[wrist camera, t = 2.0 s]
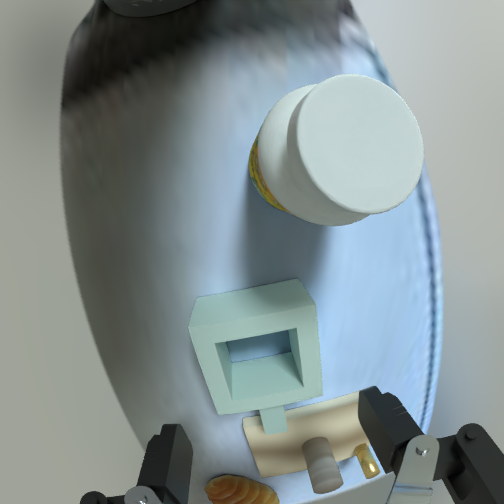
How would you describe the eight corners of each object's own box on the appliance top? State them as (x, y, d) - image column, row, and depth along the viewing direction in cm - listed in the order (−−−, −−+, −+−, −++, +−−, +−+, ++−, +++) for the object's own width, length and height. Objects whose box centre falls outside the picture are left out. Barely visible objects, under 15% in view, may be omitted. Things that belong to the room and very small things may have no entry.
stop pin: (354, 446, 21) (366, 474, 17) (367, 441, 21) (381, 468, 17) (353, 453, 21) (365, 480, 17) (366, 448, 21) (379, 475, 17)
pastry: (189, 479, 22) (187, 505, 19) (240, 464, 22) (242, 493, 18) (238, 505, 25) (239, 527, 21) (284, 491, 24) (288, 514, 20)
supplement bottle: (330, 216, 17) (428, 253, 7) (242, 205, 16) (254, 230, 7) (340, 131, 15) (441, 88, 6) (253, 115, 15) (279, 33, 6)
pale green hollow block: (196, 297, 17) (187, 327, 13) (297, 278, 17) (315, 303, 14) (232, 412, 20) (233, 450, 16) (311, 397, 20) (324, 432, 16)
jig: (242, 417, 20) (247, 478, 14) (371, 386, 20) (402, 435, 14) (260, 469, 22) (266, 517, 16) (364, 443, 22) (384, 485, 16)
